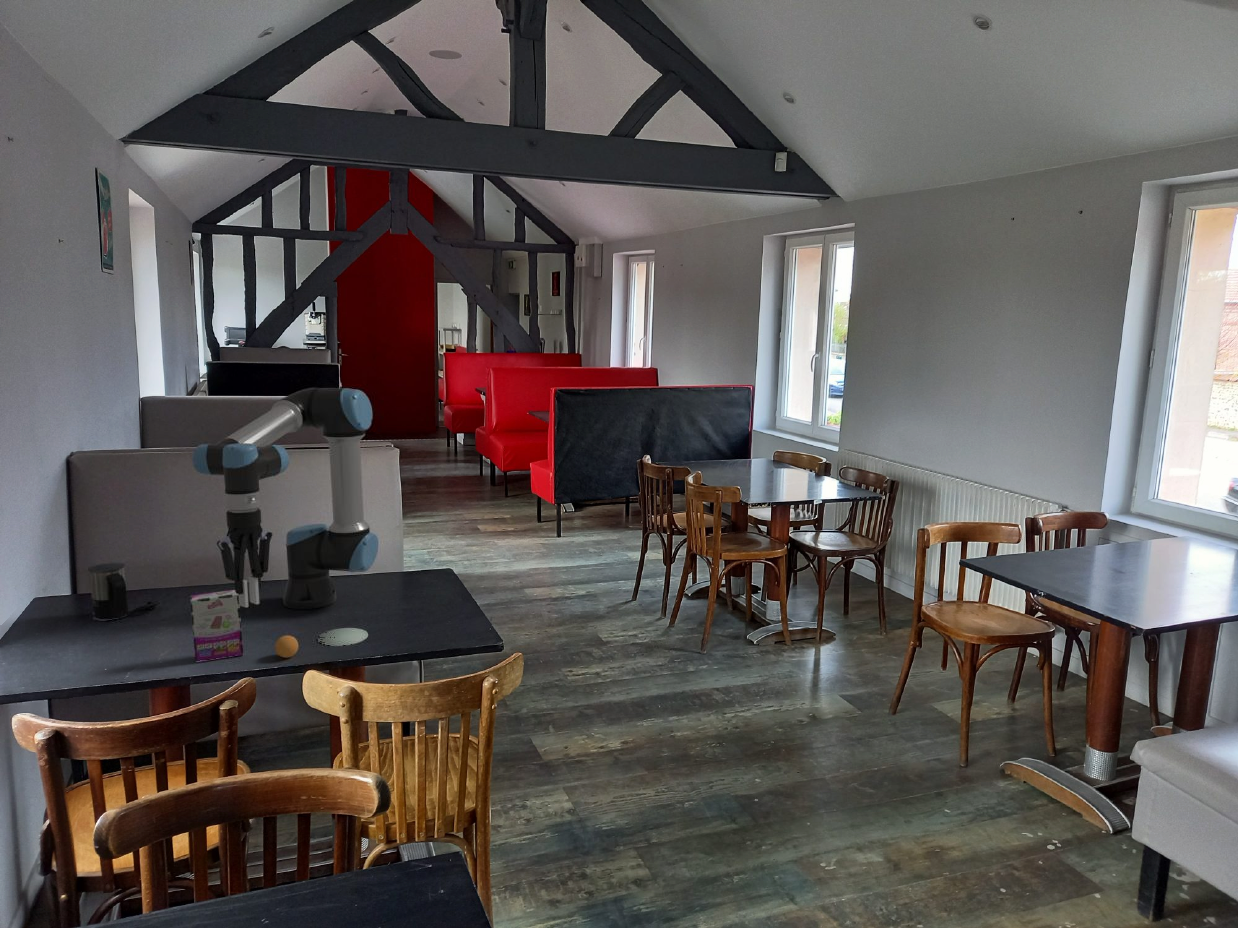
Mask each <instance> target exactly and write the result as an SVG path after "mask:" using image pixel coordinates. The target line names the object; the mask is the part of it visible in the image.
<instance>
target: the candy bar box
mask: <svg viewBox="0 0 1238 928" xmlns="http://www.w3.org/2000/svg"><path fill="white" fill-rule="evenodd" d="M189 602H190V603H189V605H190V615H191V616H190V617H191V625H192V626H191V627H192V639H193V649H194V650H193V651H194V661H200V660H210V659H216V658H222V657H229V656H235V655H243V656H244V645H243V633H242V630H243V629H242V620H241V606H240V605H239V595H238V594H236V592H235V589H230V590H224V591H223V590H221V591H215V592H209V593H207V592H206V593H200V594H199V593H198V594H193V595H192V594H191V595H190V596H189Z"/></svg>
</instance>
